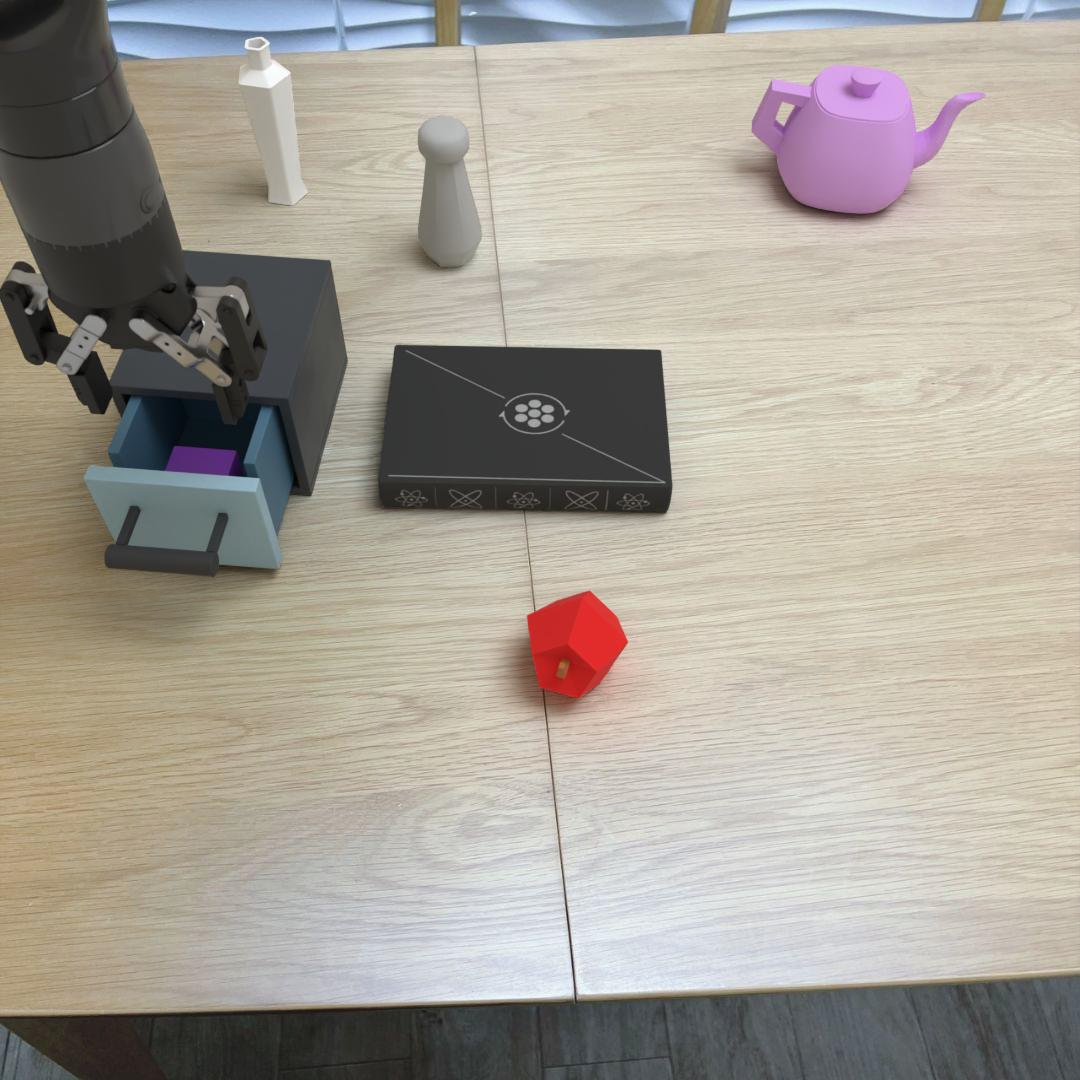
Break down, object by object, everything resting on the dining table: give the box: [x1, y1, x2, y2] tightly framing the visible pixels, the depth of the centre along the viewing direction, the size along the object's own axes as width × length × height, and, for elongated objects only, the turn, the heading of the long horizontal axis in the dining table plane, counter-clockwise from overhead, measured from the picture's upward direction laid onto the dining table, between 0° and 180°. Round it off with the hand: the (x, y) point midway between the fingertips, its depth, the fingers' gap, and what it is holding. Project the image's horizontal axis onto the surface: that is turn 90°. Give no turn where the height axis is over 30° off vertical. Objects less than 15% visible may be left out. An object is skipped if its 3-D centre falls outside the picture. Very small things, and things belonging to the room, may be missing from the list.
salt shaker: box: [417, 115, 483, 268], centre depth 95 cm, size 6×6×13 cm
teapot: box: [750, 64, 987, 215], centre depth 103 cm, size 13×20×11 cm
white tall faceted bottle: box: [237, 36, 309, 206], centre depth 99 cm, size 5×4×15 cm
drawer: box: [83, 395, 296, 578], centre depth 77 cm, size 18×11×9 cm, turn 175°
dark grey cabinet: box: [108, 249, 349, 497], centre depth 83 cm, size 15×13×11 cm
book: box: [377, 344, 674, 513], centre depth 85 cm, size 22×15×3 cm
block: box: [165, 446, 244, 477], centre depth 78 cm, size 4×4×4 cm
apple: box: [526, 589, 629, 699], centre depth 72 cm, size 7×7×8 cm
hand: (168, 409), depth 70 cm, fingers open, 8 cm apart
